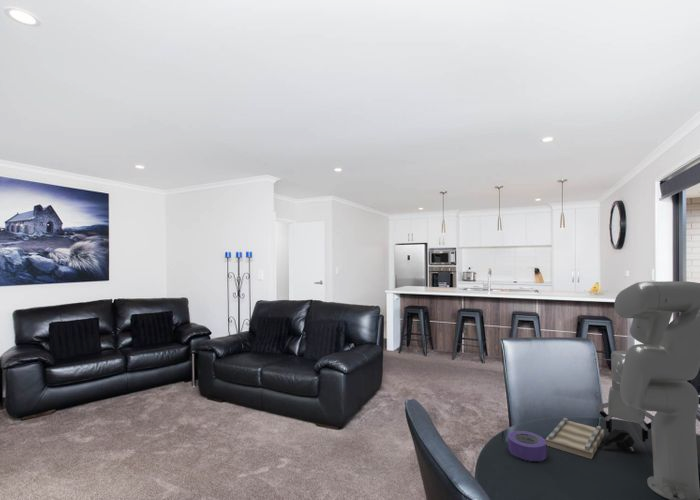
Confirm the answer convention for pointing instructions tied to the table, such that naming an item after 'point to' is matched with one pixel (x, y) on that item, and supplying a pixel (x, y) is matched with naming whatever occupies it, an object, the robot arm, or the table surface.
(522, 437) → the tape roll
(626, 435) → the black tapered curved piece
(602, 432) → the board
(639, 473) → the table surface
